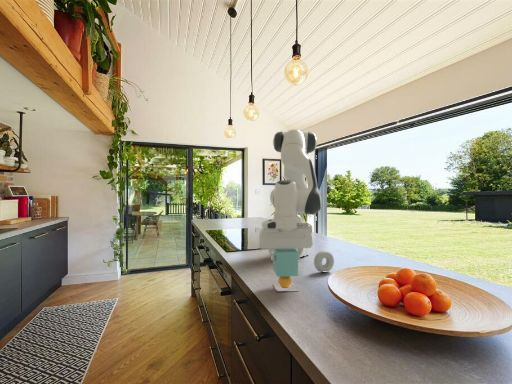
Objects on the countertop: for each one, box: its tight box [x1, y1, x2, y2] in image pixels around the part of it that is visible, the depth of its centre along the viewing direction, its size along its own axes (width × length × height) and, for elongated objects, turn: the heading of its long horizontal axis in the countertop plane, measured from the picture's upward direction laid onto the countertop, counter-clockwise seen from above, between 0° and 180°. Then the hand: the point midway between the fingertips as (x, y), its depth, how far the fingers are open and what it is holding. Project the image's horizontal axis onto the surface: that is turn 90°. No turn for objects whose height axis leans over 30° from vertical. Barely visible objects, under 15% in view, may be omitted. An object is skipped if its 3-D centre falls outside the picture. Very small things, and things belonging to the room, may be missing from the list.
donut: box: [313, 249, 335, 273], centre depth 116 cm, size 10×3×10 cm, turn 111°
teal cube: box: [272, 248, 299, 278], centre depth 97 cm, size 8×8×9 cm
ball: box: [277, 276, 293, 288], centre depth 97 cm, size 5×5×5 cm
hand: (285, 260), depth 97 cm, fingers closed on teal cube, 8 cm apart
